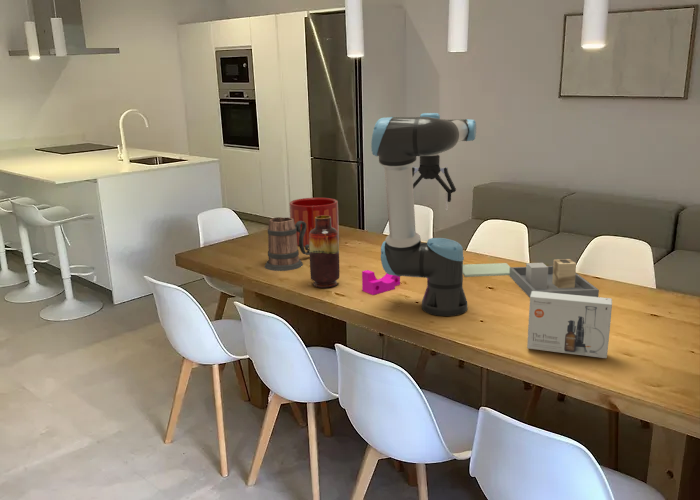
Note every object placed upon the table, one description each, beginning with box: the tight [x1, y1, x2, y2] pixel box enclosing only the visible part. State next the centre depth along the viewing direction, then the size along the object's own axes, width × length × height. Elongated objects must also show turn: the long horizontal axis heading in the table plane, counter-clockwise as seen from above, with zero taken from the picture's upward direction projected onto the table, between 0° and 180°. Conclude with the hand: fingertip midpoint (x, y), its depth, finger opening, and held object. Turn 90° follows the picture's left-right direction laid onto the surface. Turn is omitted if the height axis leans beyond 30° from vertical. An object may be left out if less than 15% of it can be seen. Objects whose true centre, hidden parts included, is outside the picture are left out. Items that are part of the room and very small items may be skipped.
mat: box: [463, 262, 511, 278], centre depth 250 cm, size 14×20×1 cm
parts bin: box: [508, 265, 600, 298], centre depth 228 cm, size 30×22×4 cm
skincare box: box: [526, 291, 613, 359], centre depth 173 cm, size 21×5×16 cm, turn 69°
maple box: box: [552, 258, 577, 288], centre depth 227 cm, size 6×6×9 cm
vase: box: [308, 215, 341, 289], centre depth 235 cm, size 11×11×26 cm
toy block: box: [361, 269, 401, 296], centre depth 231 cm, size 15×6×8 cm, turn 127°
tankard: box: [264, 216, 310, 272], centre depth 265 cm, size 24×17×20 cm
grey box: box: [525, 262, 548, 289], centre depth 227 cm, size 6×6×8 cm
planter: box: [288, 197, 340, 248], centre depth 300 cm, size 23×23×20 cm
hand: (429, 209), depth 244 cm, fingers open, 13 cm apart
